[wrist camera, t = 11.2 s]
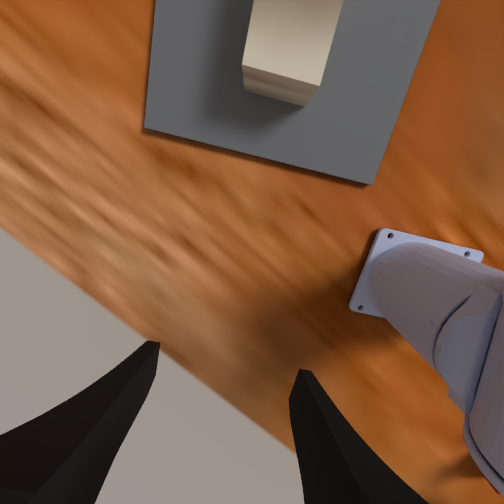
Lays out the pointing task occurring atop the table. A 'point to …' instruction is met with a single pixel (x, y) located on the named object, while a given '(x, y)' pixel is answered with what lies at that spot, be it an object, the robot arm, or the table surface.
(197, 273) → the table surface
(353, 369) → the table surface
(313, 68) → the birch card box
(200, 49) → the charcoal rubber mat
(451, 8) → the table surface
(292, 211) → the table surface
